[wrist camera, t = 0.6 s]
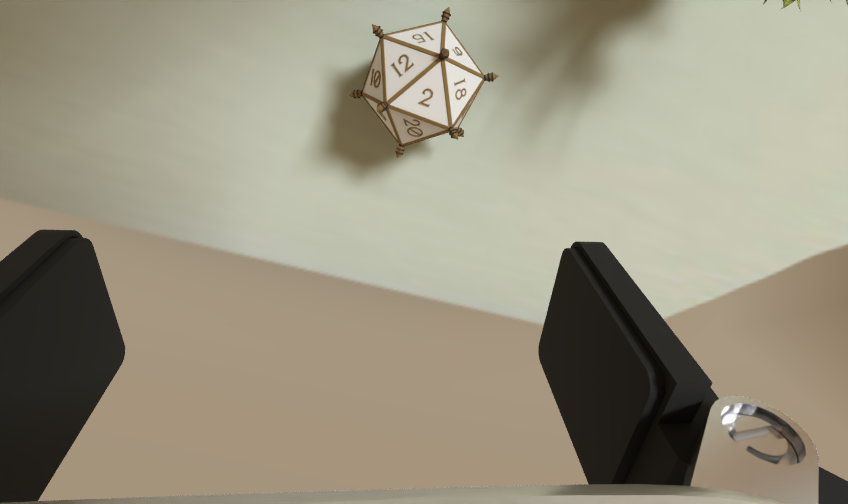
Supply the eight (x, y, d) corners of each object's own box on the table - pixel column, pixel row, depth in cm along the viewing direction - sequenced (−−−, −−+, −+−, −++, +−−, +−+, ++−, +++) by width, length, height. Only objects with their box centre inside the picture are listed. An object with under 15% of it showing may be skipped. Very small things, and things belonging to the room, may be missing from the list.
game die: (436, 75, 40) (499, 166, 36) (336, 102, 37) (391, 203, 33) (453, -36, 32) (536, 63, 28) (328, -12, 29) (399, 102, 25)
